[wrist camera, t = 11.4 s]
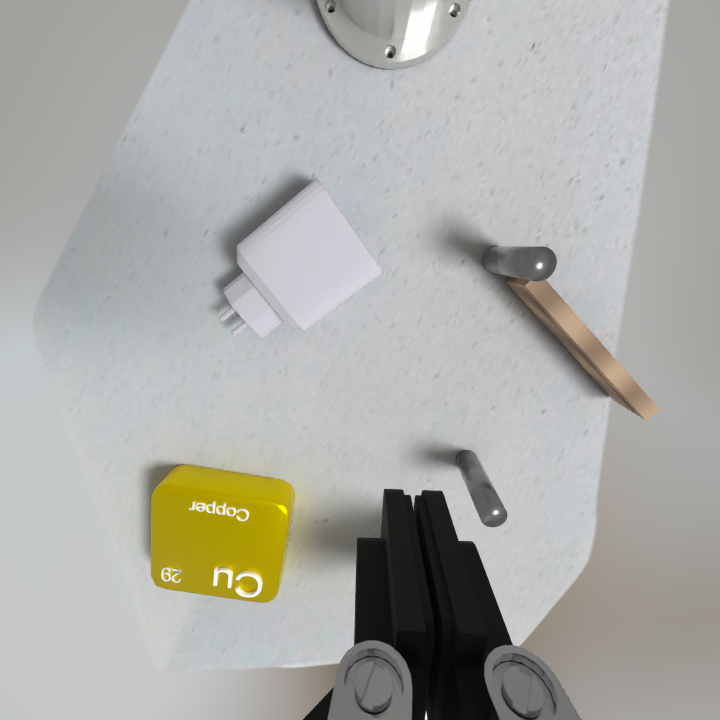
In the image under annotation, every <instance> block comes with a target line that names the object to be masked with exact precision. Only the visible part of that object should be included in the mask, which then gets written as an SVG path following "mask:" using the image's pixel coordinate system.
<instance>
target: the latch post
mask: <svg viewBox="0 0 720 720" xmlns="http://www.w3.org/2000/svg"><path fill="white" fill-rule="evenodd" d="M456 463H457V465H458V468H459V470H460V472H461V475H462V477H463V479H464V482H465V484H466V486H467V489H468V491H469V493H470V496H471V498H472V500H473V503H474V505H475V507H476V510H477V512H478V514H479V517H480V519H481V521H482V523H483V524H484V525H486V526H488V527H497V526H500V525H501V524H503V523H504V522H505V521H506V519H507V511H506V510H505V508H504V506H503V504H502V502H501V500H500V498H499V496H498V495H497V493H496V491H495V489H494V487H493V485H492V483H491V482H490V480H489V478H488V476H487V474H486V472H485V470H484V469H483V467H482V465H481V463H480V461H479V459H478V457H477V456H476V454H475V453H474V452H473V451H470V450H465V451H462V452H460V453H459V454H458V455H457V457H456Z"/></svg>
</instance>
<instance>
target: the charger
mask: <svg viewBox="0 0 720 720" xmlns="http://www.w3.org/2000/svg"><path fill="white" fill-rule="evenodd" d="M237 263H238V265H239V266H240V268H241V269H242V270H243V273H242V274H241V275H239V276H238V277H237V278H236V279H234V280H233V281H232V282H231V283H230V284H228V285H227V286H226V287H225V288H224V289H223V291H224V294H225V296H226V297H227V299H228V301H229V303H230V304H231V306H232V307H231V308H230V309H229V310H227V311H226V312H225V313H224V314H222V315H221V316H220V317H219V318H220V320H221V321H224V320H226V319H227V318H228V317H229V316H231V315H232V314H233V313H234V312H237V313H238V314H239V315H240V316H241V318H242V319H243V320H244V322H243V323H241V324H240V325H239V326H238V327H236V328H235V329H234V330H233V331H232V334H233V335H237V334H238V333H239V332H240V331H242V330H243V329H244V328H246V327H247V326H249V327H250V328H252V329H253V330H254V331H255V332H256V333H258V334H259V335H260V336H262V337H264V336H266V335H267V334H268V333H270V332H271V331H272V330H273V329H275V328H276V327H277V326H279V325H280V324H281V323H283V322H285V323H286V324H287V325H288V326H289V327H290V328H294V329H300V330H307V329H308V328H309V327H311V326H312V325H313V324H315V323H316V322H317V321H319V320H320V319H321V318H323V317H324V316H325V315H327V314H328V313H329V312H331V311H332V310H333V309H335V308H336V307H337V306H339V305H340V304H341V303H343V302H344V301H345V300H347V299H348V298H349V297H351V296H352V295H353V294H355V293H356V292H357V291H359V290H360V289H361V288H363V287H364V286H365V285H367V284H368V283H369V282H371V281H372V280H373V279H375V278H376V277H377V276H379V275H380V274H381V273H383V271H382V270H381V268H380V267H379V265H378V264H377V262H376V261H375V259H374V258H373V256H372V255H371V253H370V252H369V250H368V249H367V247H366V246H365V244H364V243H363V242H362V240H361V239H360V237H359V236H358V234H357V233H356V232H355V230H354V229H353V227H352V226H351V224H350V223H349V222H348V220H347V219H346V217H345V216H344V214H343V213H342V212H341V210H340V209H339V207H338V206H337V205H336V203H335V202H334V201H333V199H332V198H331V196H330V195H329V194H328V192H327V191H326V190H325V188H324V187H323V186H322V184H321V183H320V181H319V180H318V179H317V178H316V179H315V180H314V181H312V182H311V183H310V184H309V185H308V186H307V187H305V188H304V189H303V190H302V191H301V192H299V193H298V194H297V195H296V196H295V197H294V198H292V199H291V200H290V201H289V202H288V203H286V204H285V205H284V206H283V207H282V208H281V209H279V210H278V211H277V212H276V213H275V214H273V215H272V216H271V217H270V218H269V219H268V220H266V221H265V222H264V223H263V224H262V225H260V226H259V227H258V228H257V229H256V230H255V231H253V232H252V233H251V234H250V235H249V236H248V237H246V238H245V239H244V240H243V241H242V242H240V243H239V244H238V245H237Z"/></svg>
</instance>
